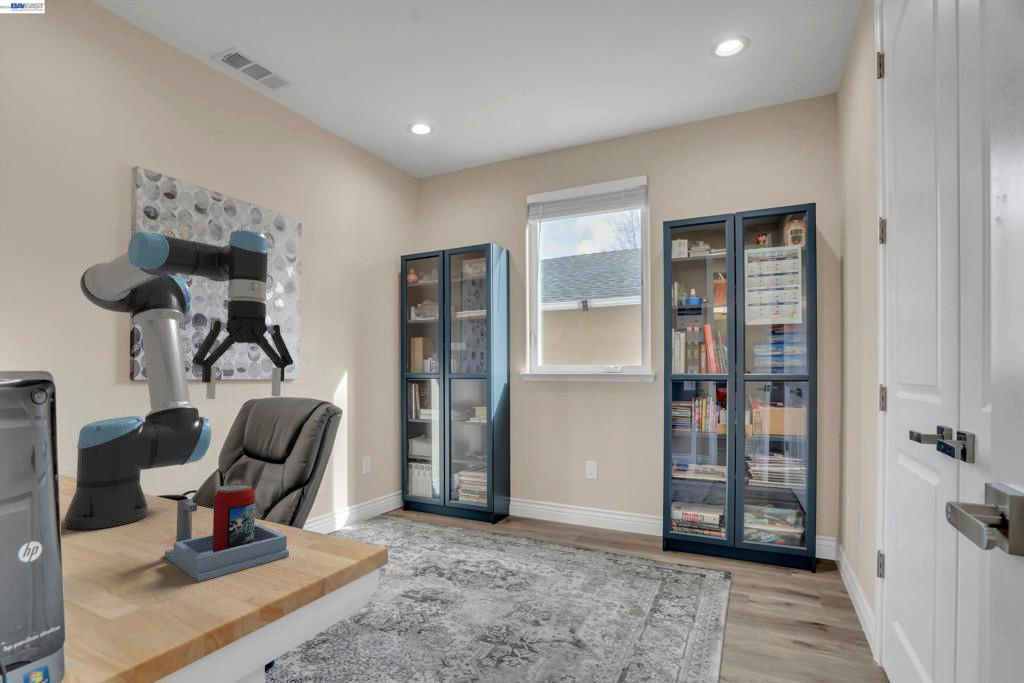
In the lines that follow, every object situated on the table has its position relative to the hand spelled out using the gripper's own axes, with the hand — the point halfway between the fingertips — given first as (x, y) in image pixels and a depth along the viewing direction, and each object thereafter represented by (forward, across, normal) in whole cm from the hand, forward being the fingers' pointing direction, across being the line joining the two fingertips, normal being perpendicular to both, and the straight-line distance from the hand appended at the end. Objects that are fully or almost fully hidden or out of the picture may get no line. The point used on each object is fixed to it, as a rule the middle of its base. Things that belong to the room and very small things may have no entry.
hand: (244, 397), depth 111 cm
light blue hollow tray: (+29, -8, -14) cm, 33 cm away
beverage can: (+28, -8, -16) cm, 33 cm away
